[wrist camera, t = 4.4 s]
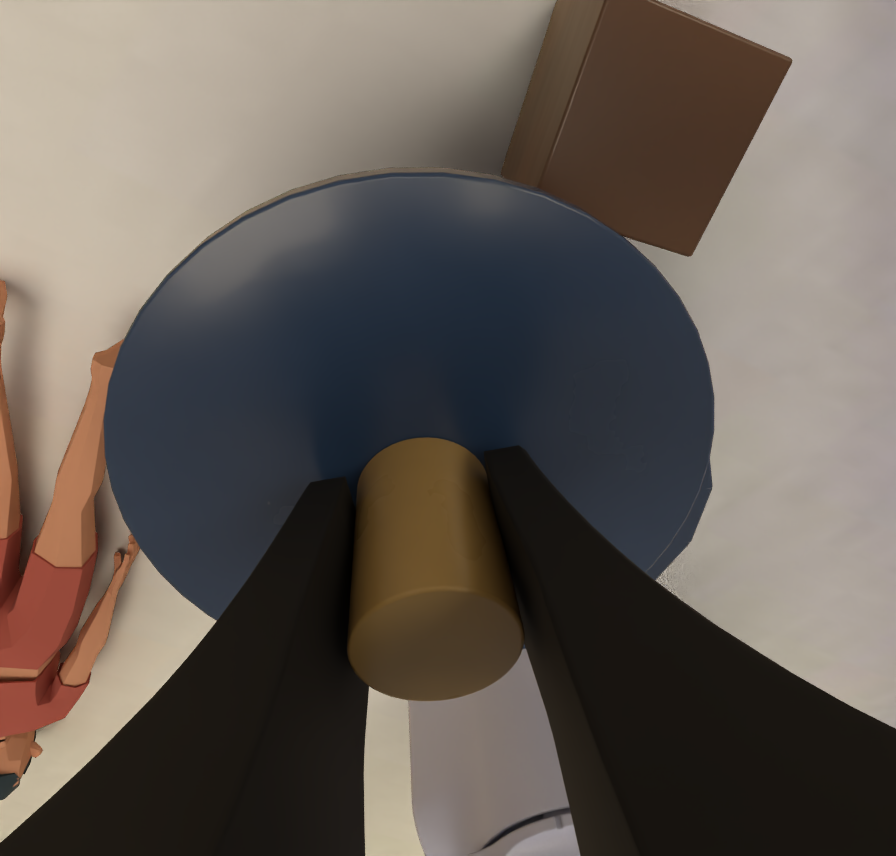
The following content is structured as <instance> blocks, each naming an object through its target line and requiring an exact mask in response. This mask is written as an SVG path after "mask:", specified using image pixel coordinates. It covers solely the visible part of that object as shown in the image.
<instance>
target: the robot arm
mask: <svg viewBox="0 0 896 856" xmlns="http://www.w3.org/2000/svg"><path fill="white" fill-rule="evenodd" d="M483 452H484V459H485V466H486V472H487V479H488V486H489V490H490V494H491V498H492V502H493V507H494V511H495V515H496V519H497V523H498V527H499V530H500V533H501V537H502V540H503V544H504V548H505V552H506V556H507V560H508V564H509V568H510V572H511V576H512V581H513V585H514V589H515V593H516V597H517V601H518V606H519V610H520V614H521V618H522V622H523V626H524V633H525V639H524V644H525V647H526V649H523V650H522V652H521V655H520V657H519V659H518V660H517V662H516V663H515V665H514V666H513V667H512V668H511V669H510V670H509V672H508V673H507V674H505V675H504V676H503V677H502V678H501V679H499V680H498V681H496V682H495V683H493V684H492V685H490V686H488V687H486V688H484V689H482V690H480V691H477V692H475V693H472V694H469V695H466V696H463V697H458V698H454V699H448V700H441V701H411V700H408V705H409V734H410V763H411V792H412V808H413V816H414V821H415V826H416V830H417V833H418V837H419V840H420V843H421V846H422V848H423V851H424V853H425V856H896V729H895V728H893V727H891V726H889V725H887V724H885V723H883V722H881V721H879V720H877V719H875V718H873V717H871V716H869V715H867V714H865V713H863V712H861V711H859V710H857V709H855V708H853V707H851V706H850V705H848V704H846V703H844V702H842V701H840V700H838V699H837V698H835V697H833V696H831V695H830V694H828V693H826V692H824V691H823V690H821V689H819V688H817V687H816V686H814V685H812V684H810V683H809V682H807V681H805V680H803V679H802V678H800V677H798V676H796V675H795V674H793V673H791V672H789V671H788V670H786V669H785V668H783V667H781V666H780V665H778V664H777V663H775V662H774V661H772V660H770V659H769V658H767V657H766V656H764V655H762V654H761V653H759V652H758V651H756V650H755V649H753V648H751V647H750V646H748V645H747V644H745V643H743V642H742V641H740V640H739V639H737V638H736V637H734V636H732V635H731V634H729V633H728V632H726V631H724V630H723V629H721V628H720V627H718V626H717V625H715V624H714V623H712V622H711V621H710V620H708V619H707V618H705V617H704V616H702V615H701V614H700V613H698V612H697V611H695V610H694V609H693V608H691V607H690V606H688V605H687V604H686V603H684V602H683V601H681V600H680V599H679V598H677V597H676V596H675V595H673V594H672V593H671V592H670V591H668V590H667V589H666V588H664V587H663V586H662V585H660V584H659V583H658V582H656V581H655V580H654V579H653V578H651V577H650V576H649V575H648V574H646V573H645V572H644V571H643V570H641V569H640V568H639V567H638V566H637V565H636V564H634V563H633V562H632V561H631V560H630V559H628V558H627V557H626V556H625V555H624V554H623V553H622V552H620V551H619V550H618V549H617V548H616V547H615V546H614V545H613V544H611V543H610V542H609V541H608V540H607V539H606V538H605V537H604V536H603V535H602V534H601V533H600V532H598V531H597V530H596V529H595V528H594V527H593V526H592V525H591V524H590V523H589V522H588V521H587V520H586V519H585V518H584V517H583V516H582V515H581V514H580V513H579V512H578V511H577V510H576V509H575V508H574V507H573V506H572V505H571V504H570V503H569V502H568V501H567V499H566V498H565V497H564V496H563V495H562V494H561V493H560V492H559V491H558V490H557V489H556V487H555V486H554V485H553V484H552V483H551V482H550V481H549V479H548V478H547V477H546V476H545V475H544V474H543V472H542V471H541V470H540V469H539V467H538V466H537V465H536V464H535V462H534V461H533V460H532V458H531V457H530V456H529V454H528V453H527V451H526V450H525V449H524V448H522V447H521V446H519V445H517V446H511V447H506V448H500V449H495V450H489V451H483ZM355 514H356V509H355V506H354V502H353V499H352V496H351V493H350V490H349V487H348V484H347V481H346V477H345V476H343V477H337V478H332V479H326V480H320V481H315V482H310V483H309V485H308V486H307V488H306V489H305V490H304V492H303V494H302V495H301V497H300V498H299V500H298V502H297V503H296V505H295V506H294V508H293V510H292V511H291V513H290V515H289V516H288V518H287V519H286V521H285V523H284V524H283V526H282V527H281V529H280V531H279V532H278V534H277V535H276V537H275V539H274V540H273V542H272V543H271V545H270V546H269V548H268V549H267V551H266V552H265V554H264V555H263V557H262V558H261V560H260V561H259V563H258V564H257V566H256V567H255V569H254V570H253V572H252V573H251V575H250V576H249V578H248V579H247V581H246V582H245V583H244V585H243V586H242V588H241V589H240V590H239V592H238V593H237V594H236V596H235V597H234V598H233V600H232V601H231V603H230V604H229V605H228V607H227V608H226V609H225V611H224V612H223V613H222V615H221V616H220V617H219V619H218V620H217V622H216V623H215V624H214V626H213V627H212V628H211V629H210V631H209V632H208V633H207V634H206V636H205V637H204V638H203V639H202V641H201V642H200V643H199V644H198V646H197V647H196V648H195V649H194V651H193V652H192V653H191V654H190V655H189V657H188V658H187V659H186V660H185V661H184V662H183V664H182V665H181V666H180V667H179V668H178V669H177V670H176V672H175V673H174V674H173V675H172V676H171V677H170V678H169V680H168V681H167V682H166V683H165V684H164V685H163V686H162V687H161V689H160V690H159V691H158V692H157V693H156V694H155V695H154V696H153V697H152V698H151V699H150V700H149V701H148V702H147V703H146V704H145V706H144V707H143V708H142V709H141V710H140V711H139V712H138V713H137V714H136V715H135V716H134V717H133V718H132V719H131V720H130V721H129V722H128V723H127V724H126V725H125V726H124V727H123V728H122V729H121V730H120V731H119V732H118V733H117V734H116V735H115V736H114V737H113V738H112V739H111V740H110V741H109V742H108V743H107V744H106V745H105V746H104V747H103V748H102V750H101V751H100V752H99V753H98V754H97V755H96V756H95V757H94V758H93V759H92V760H91V761H89V762H88V763H87V764H86V765H85V766H84V767H83V768H82V769H81V770H80V771H79V772H78V773H77V774H76V775H75V776H74V777H73V778H72V779H70V780H69V781H68V782H67V783H66V784H65V785H64V786H63V787H62V788H61V789H60V790H59V791H58V792H57V793H56V794H54V795H53V796H52V797H51V798H50V799H49V800H48V801H47V802H46V803H45V804H43V805H42V806H41V807H40V808H39V809H38V810H37V811H36V812H35V813H33V814H32V815H31V816H30V817H29V818H28V819H27V820H26V821H24V822H23V823H22V824H21V825H20V826H19V827H18V828H17V829H16V830H14V831H13V832H12V833H11V834H10V835H9V836H8V837H7V838H5V839H4V840H3V841H2V842H1V843H0V856H365V833H364V746H365V730H366V718H367V705H368V692H369V686H368V685H367V684H366V683H364V682H363V681H362V680H361V679H360V678H359V677H358V676H357V675H356V673H355V672H354V670H353V668H352V667H351V665H350V662H349V659H348V655H347V638H348V622H349V607H350V591H351V576H352V560H353V545H354V529H355Z"/></svg>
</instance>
